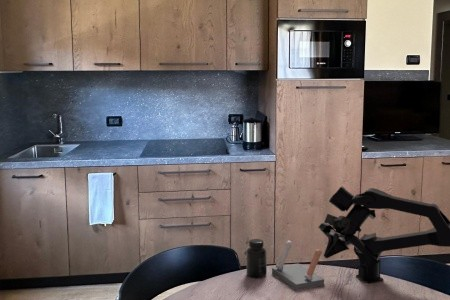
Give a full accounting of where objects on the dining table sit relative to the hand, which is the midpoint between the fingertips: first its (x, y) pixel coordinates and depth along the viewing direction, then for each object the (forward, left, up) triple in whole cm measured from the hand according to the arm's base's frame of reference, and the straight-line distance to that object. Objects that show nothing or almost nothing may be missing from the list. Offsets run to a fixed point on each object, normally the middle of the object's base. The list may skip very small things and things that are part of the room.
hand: (325, 257), depth 149 cm
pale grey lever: (+10, -11, -5) cm, 16 cm away
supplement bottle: (+17, -15, -9) cm, 24 cm away
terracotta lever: (+6, 0, -5) cm, 8 cm away
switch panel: (+7, -6, -8) cm, 12 cm away
